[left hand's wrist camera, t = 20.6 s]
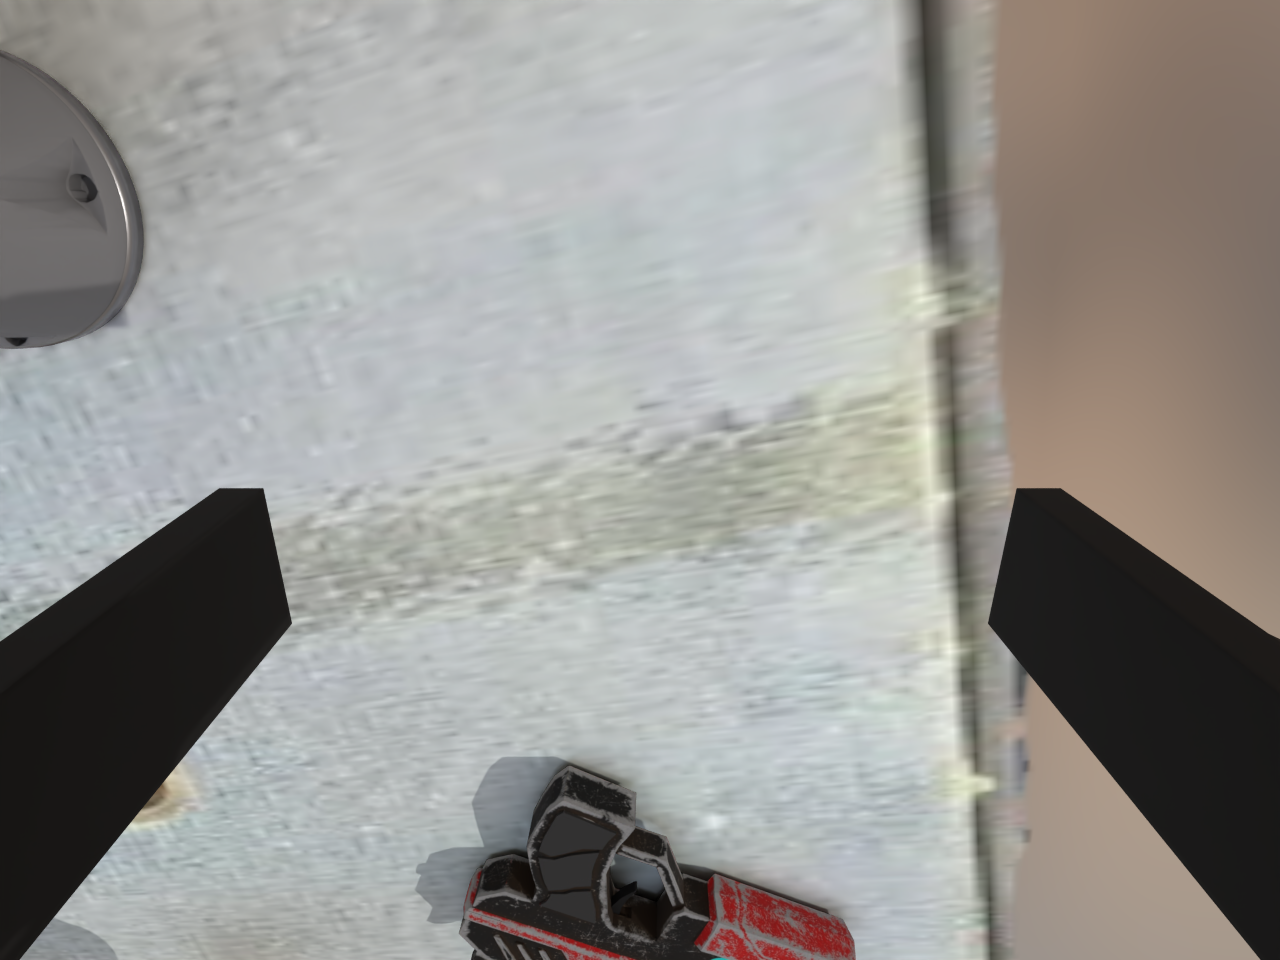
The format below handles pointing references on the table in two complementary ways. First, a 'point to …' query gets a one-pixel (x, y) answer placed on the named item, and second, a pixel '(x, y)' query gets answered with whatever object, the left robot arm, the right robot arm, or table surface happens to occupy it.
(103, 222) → the left robot arm
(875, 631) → the table surface
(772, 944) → the gun
